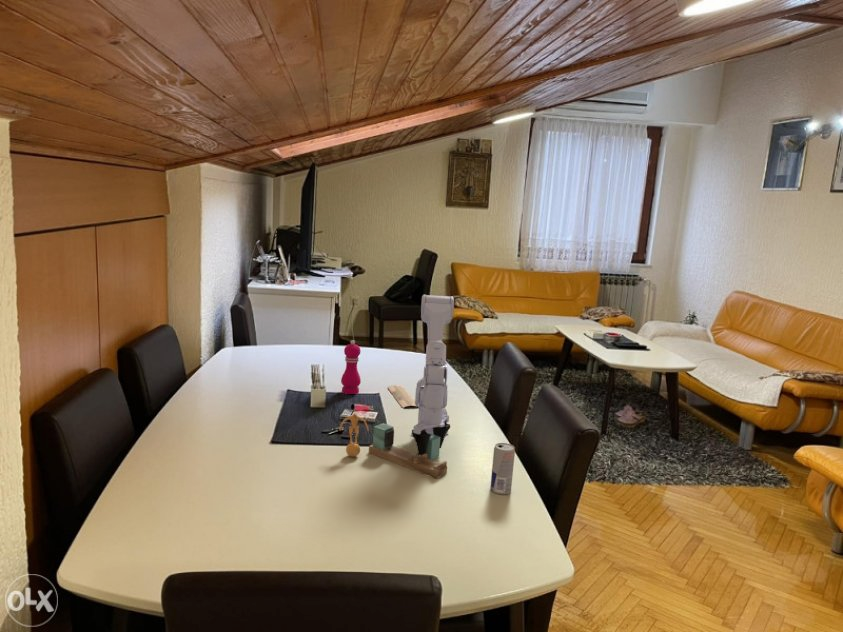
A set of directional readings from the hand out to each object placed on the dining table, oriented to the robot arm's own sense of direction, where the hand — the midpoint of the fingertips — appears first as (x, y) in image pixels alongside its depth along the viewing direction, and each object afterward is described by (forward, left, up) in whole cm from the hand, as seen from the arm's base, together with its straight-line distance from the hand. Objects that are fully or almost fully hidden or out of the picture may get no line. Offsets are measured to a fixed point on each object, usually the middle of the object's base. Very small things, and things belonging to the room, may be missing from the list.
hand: (429, 451), depth 181 cm
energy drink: (+4, +26, -2) cm, 26 cm away
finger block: (0, 0, -2) cm, 2 cm away
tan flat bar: (-36, -39, -3) cm, 53 cm away
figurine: (+15, -16, -2) cm, 22 cm away
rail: (+8, -2, -2) cm, 8 cm away
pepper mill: (-26, -56, -2) cm, 62 cm away
